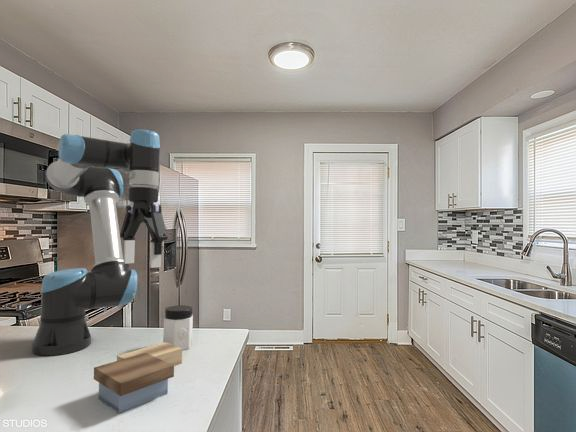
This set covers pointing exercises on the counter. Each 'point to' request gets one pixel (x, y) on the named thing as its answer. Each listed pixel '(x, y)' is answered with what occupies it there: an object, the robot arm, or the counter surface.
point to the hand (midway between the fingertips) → (141, 265)
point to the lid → (133, 373)
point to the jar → (178, 326)
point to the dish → (132, 396)
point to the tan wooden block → (158, 353)
